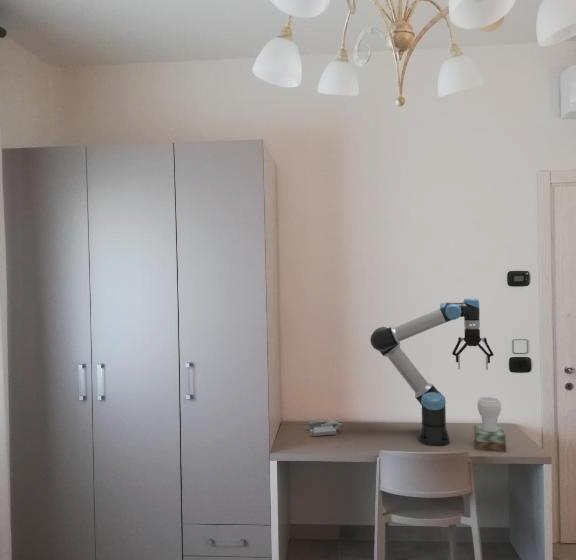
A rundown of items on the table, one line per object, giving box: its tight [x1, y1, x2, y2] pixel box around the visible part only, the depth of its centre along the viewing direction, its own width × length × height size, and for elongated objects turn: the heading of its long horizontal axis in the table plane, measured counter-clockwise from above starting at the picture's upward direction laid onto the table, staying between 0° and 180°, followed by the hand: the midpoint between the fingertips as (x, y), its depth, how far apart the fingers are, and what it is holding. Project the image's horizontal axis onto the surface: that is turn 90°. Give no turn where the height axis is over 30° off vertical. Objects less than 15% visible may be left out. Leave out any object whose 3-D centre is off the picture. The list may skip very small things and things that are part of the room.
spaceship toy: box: [304, 417, 343, 437], centre depth 275 cm, size 14×20×6 cm
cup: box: [477, 396, 502, 432], centre depth 246 cm, size 11×11×15 cm
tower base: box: [473, 424, 507, 453], centre depth 246 cm, size 13×13×8 cm
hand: (472, 369), depth 263 cm, fingers open, 13 cm apart
